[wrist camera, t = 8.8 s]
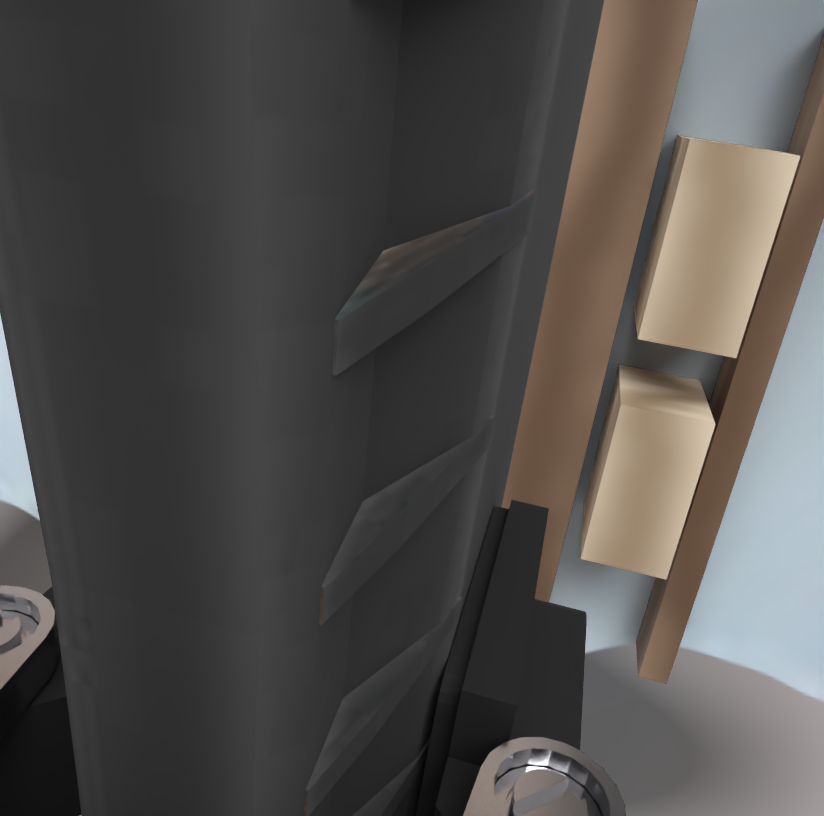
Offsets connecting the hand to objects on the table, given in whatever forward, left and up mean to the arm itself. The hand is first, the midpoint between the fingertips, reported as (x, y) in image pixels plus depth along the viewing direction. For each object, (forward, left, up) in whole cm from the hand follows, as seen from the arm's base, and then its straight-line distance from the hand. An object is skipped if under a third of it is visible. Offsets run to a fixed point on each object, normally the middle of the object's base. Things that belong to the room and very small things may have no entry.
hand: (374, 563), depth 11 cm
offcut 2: (-7, -2, -29) cm, 30 cm away
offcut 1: (-7, +9, -29) cm, 31 cm away
